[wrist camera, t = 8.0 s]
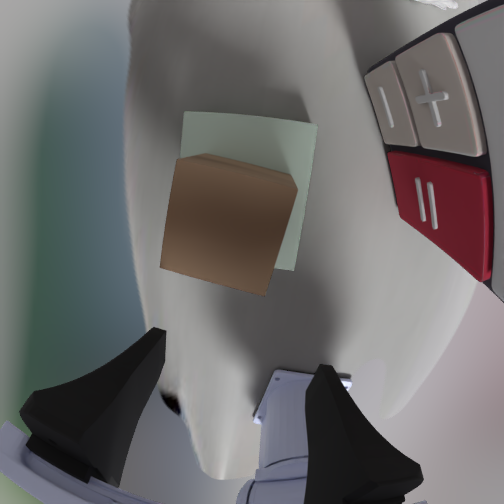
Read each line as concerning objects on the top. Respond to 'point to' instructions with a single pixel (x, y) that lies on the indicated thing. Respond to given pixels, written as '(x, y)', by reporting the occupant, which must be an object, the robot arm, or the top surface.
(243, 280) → the walnut cube
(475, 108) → the calculator
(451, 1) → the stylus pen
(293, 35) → the top surface
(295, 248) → the block
